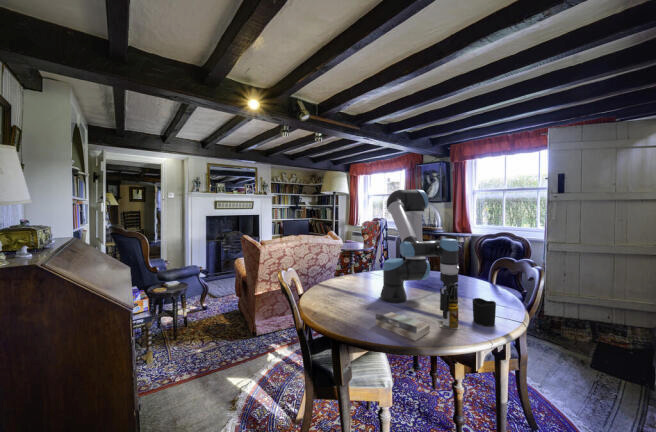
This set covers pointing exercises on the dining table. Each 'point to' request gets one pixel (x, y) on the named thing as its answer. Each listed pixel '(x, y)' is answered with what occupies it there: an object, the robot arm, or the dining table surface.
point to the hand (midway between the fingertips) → (449, 322)
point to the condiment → (452, 315)
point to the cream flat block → (402, 325)
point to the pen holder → (484, 312)
